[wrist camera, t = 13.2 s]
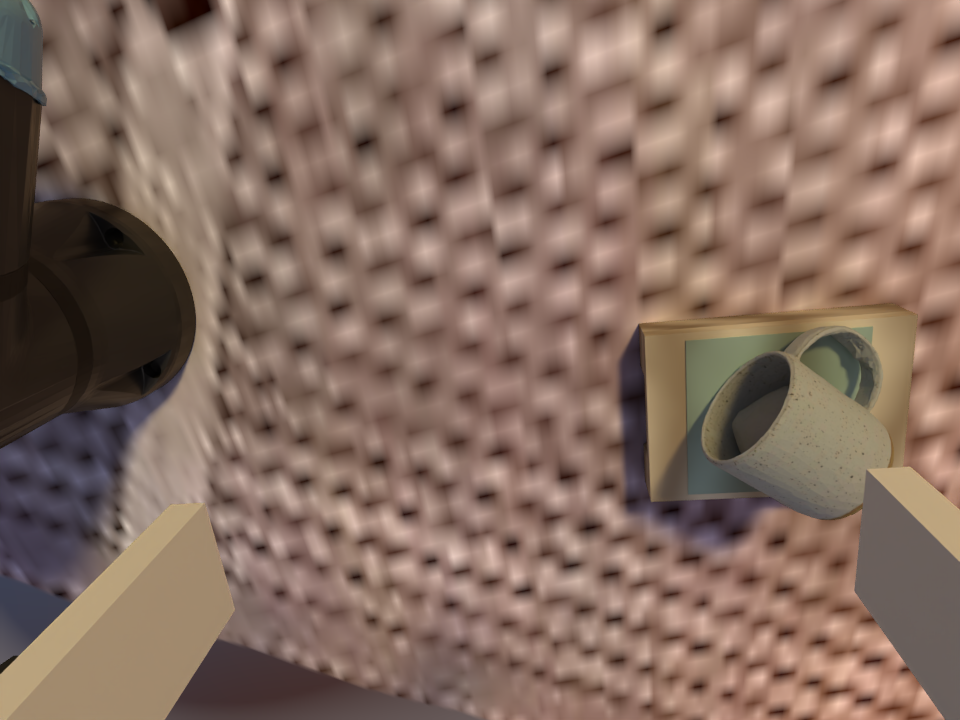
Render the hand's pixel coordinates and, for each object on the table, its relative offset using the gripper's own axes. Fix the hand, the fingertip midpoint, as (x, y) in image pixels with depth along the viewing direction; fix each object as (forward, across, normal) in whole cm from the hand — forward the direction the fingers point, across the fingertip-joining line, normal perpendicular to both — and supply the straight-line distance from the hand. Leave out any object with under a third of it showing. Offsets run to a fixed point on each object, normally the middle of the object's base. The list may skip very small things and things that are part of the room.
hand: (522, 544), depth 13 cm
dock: (+31, +15, -11) cm, 36 cm away
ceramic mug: (+28, +15, -9) cm, 33 cm away
